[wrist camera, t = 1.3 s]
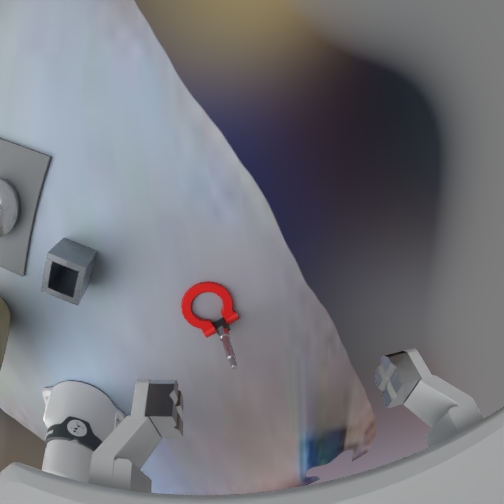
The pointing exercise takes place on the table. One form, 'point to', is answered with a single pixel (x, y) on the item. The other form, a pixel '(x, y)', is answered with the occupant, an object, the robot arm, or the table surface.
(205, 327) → the tow hook
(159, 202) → the table surface
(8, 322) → the plant pot
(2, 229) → the ratchet
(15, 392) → the table surface
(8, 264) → the mat
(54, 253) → the hollow square tube
